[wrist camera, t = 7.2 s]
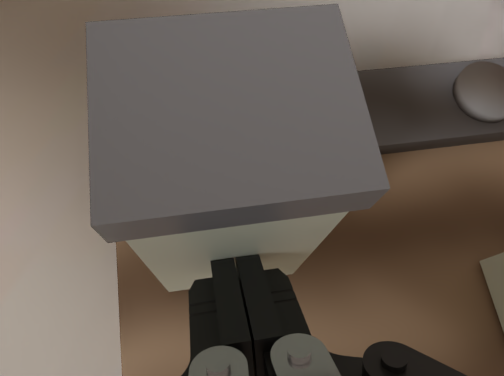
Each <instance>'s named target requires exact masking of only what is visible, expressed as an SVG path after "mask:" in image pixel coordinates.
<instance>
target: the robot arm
mask: <svg viewBox="0 0 504 376" xmlns="http://www.w3.org/2000/svg"><path fill="white" fill-rule="evenodd" d="M235 261H236V266H235ZM235 261H234V258H228V259H220V260H213V261H210V262H211V270H212V277H211V278H204V279H197V280H195V281H194V282H193V284H192V286H191V288H190V290H189V291H188V297H189V326H190V362H189V365H188V367H187V369H186V370H185V372H184V373H183V374H182V375H181V376H467V375H465V374H463V373H461V372H459V371H457V370H455V369H453V368H451V367H449V366H447V365H445V364H443V363H441V362H439V361H437V360H435V359H433V358H431V357H429V356H427V355H425V354H423V353H421V352H419V351H417V350H415V349H413V348H411V347H409V346H407V345H404V344H402V343H398V342H394V341H381V342H377V343H374V344H372V345H370V346H369V347H368V348H367V349H366V350H365V352H364V354H363V358H362V357H352V356H343V355H338V354H334V353H331V352H329V351H328V350H327V348H326V347H325V345H324V344H323V343H322V342H321V341H320V340H319V339H317V338H315V337H313V336H312V335H311V333H310V330H309V328H308V325H307V323H306V320H305V318H304V315H303V313H302V310H301V307H300V305H299V302H298V300H297V297H296V295H295V292H294V291H293V287H292V285H291V282H290V280H289V277H288V276H287V275H286V274H284V273H283V272H282V271H281V270H280V269H278V268H275V269H268V270H264V269H263V266H262V262H261V259H260V256H259V254H257V255H250V256H243V257H236V258H235Z"/></svg>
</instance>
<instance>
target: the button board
mask: <svg viewBox="0 0 504 376" xmlns="http://www.w3.org/2000/svg"><path fill="white" fill-rule="evenodd" d="M357 73H358V76H359V80H360V83H361V87H362V90H363V94H364V97H365V101H366V104H367V108H368V111H369V115H370V118H371V122H372V125H373V129H374V132H375V136H376V139H377V143H378V146H379V150H380V153H381V157H382V160H383V164H384V167H385V171H386V174H387V178H388V181H389V185H390V189H389V190H388V191H387V192H386V193H385V194H384V195H383V196H382V197H381V198H380V199H379V200H378V201H377V202H376V203H375V204H374V205H373V206H372V207H371V208H370V209H364V210H357V211H349V212H348V213H347V214H346V215H345V217H344V218H343V219H342V220H341V221H340V222H339V223H338V224H337V225H336V227H335V228H334V229H333V230H332V231H331V232H330V233H329V234H328V235H327V237H326V238H325V239H324V240H323V241H322V242H321V243H320V244H319V245H318V247H317V248H316V249H315V250H314V251H313V252H312V253H311V254H310V255H309V257H308V258H307V259H306V260H305V261H304V262H303V263H302V264H301V265H300V267H299V268H298V269H297V270H296V271H295V272H294V273H293V274H289V275H287V276H288V277H289V280H290V282H291V285H292V287H293V291H294V292H295V295H296V297H297V300H298V302H299V305H300V307H301V310H302V313H303V315H304V318H305V320H306V323H307V325H308V328H309V330H310V333H311V335H312V336H313V337H315V338H317V339H319V340H320V341H321V342H322V343H323V344H324V345H325V347H326V348H327V350H328V351H329V352H331V353H334V354H338V355H343V356H352V357H362V358H363V354H364V352H365V350H366V349H367V348H368V347H369V346H370V345H372V344H374V343H377V342H381V341H394V342H398V343H402V344H404V345H407V346H409V347H411V348H413V349H415V350H417V351H419V352H421V353H423V354H425V355H427V356H429V357H431V358H433V359H435V360H437V361H439V362H441V363H443V364H445V365H447V366H449V367H451V368H453V369H455V370H457V371H459V372H461V373H463V374H465V375H467V376H504V332H503V329H502V326H501V323H500V320H499V317H498V314H497V311H496V309H495V306H494V303H493V300H492V297H491V294H490V291H489V288H488V285H487V282H486V279H485V276H484V273H483V270H482V267H481V264H480V261H481V260H483V259H486V258H489V257H492V256H495V255H497V254H500V253H503V252H504V58H495V59H484V60H473V61H462V62H451V63H440V64H429V65H419V66H408V67H397V68H386V69H375V70H364V71H357ZM116 253H117V275H118V297H119V319H120V341H121V363H122V376H181V375H182V374H183V373H184V372H185V370H186V369H187V367H188V365H189V362H190V326H189V297H188V291H189V290H190V289H187V290H180V291H173V292H168V290H167V289H166V288H165V287H164V286H163V285H162V283H161V282H160V281H159V280H158V279H157V277H156V276H155V275H154V274H153V273H152V272H151V270H150V269H149V268H148V267H147V266H146V264H145V263H144V262H143V261H142V260H141V259H140V257H139V256H138V255H137V254H136V253H135V252H134V250H133V249H132V248H131V247H130V246H129V244H128V243H127V242H126V241H120V242H116Z"/></svg>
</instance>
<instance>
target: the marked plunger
mask: <svg viewBox="0 0 504 376" xmlns="http://www.w3.org/2000/svg"><path fill="white" fill-rule="evenodd" d="M86 55H87V95H88V135H89V176H90V216H91V227H92V228H93V229H94V230H95V231H96V232H97V233H98V234H99V235H100V236H101V237H102V238H103V239H104V240H105V241H106V242H107V243H112V242H120V241H126V242H127V243H128V244H129V246H130V247H131V248H132V249H133V250H134V252H135V253H136V254H137V255H138V256H139V257H140V259H141V260H142V261H143V262H144V263H145V264H146V266H147V267H148V268H149V269H150V270H151V272H152V273H153V274H154V275H155V276H156V277H157V279H158V280H159V281H160V282H161V283H162V285H163V286H164V287H165V288H166V289H167V290H168V292H173V291H180V290H187V289H190V288H191V286H192V284H193V282H194V281H195V280H197V279H204V278H211V277H212V270H211V262H210V261H213V260H220V259H228V258H234V261H235V258H236V257H243V256H250V255H257V254H259V256H260V259H261V262H262V266H263V269H264V270H268V269H275V268H278V269H280V270H281V271H282V272H283V273H284V274H286V275H289V274H293V273H294V272H295V271H296V270H297V269H298V268H299V267H300V265H301V264H302V263H303V262H304V261H305V260H306V259H307V258H308V257H309V255H310V254H311V253H312V252H313V251H314V250H315V249H316V248H317V247H318V245H319V244H320V243H321V242H322V241H323V240H324V239H325V238H326V237H327V235H328V234H329V233H330V232H331V231H332V230H333V229H334V228H335V227H336V225H337V224H338V223H339V222H340V221H341V220H342V219H343V218H344V217H345V215H346V214H347V213H348V212H349V211H357V210H364V209H370V208H371V207H372V206H373V205H374V204H375V203H376V202H377V201H378V200H379V199H380V198H381V197H382V196H383V195H384V194H385V193H386V192H387V191H388V190H389V189H390V185H389V181H388V178H387V174H386V171H385V167H384V164H383V160H382V157H381V153H380V150H379V146H378V143H377V139H376V136H375V132H374V129H373V125H372V122H371V118H370V115H369V111H368V108H367V104H366V101H365V97H364V94H363V90H362V87H361V83H360V80H359V76H358V73H357V69H356V66H355V62H354V59H353V55H352V52H351V48H350V44H349V41H348V37H347V34H346V30H345V27H344V23H343V20H342V16H341V13H340V9H339V6H338V4H329V5H315V6H301V7H287V8H273V9H259V10H245V11H232V12H218V13H204V14H190V15H176V16H162V17H148V18H135V19H121V20H107V21H93V22H86ZM235 266H236V261H235Z"/></svg>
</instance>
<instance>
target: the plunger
mask: <svg viewBox="0 0 504 376" xmlns="http://www.w3.org/2000/svg"><path fill="white" fill-rule="evenodd" d="M480 264H481V267H482V270H483V273H484V276H485V279H486V282H487V285H488V288H489V291H490V294H491V297H492V300H493V303H494V306H495V309H496V311H497V314H498V317H499V320H500V323H501V326H502V329H503V332H504V252H503V253H500V254H497V255H495V256H492V257H489V258H486V259H483V260H481V261H480Z"/></svg>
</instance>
